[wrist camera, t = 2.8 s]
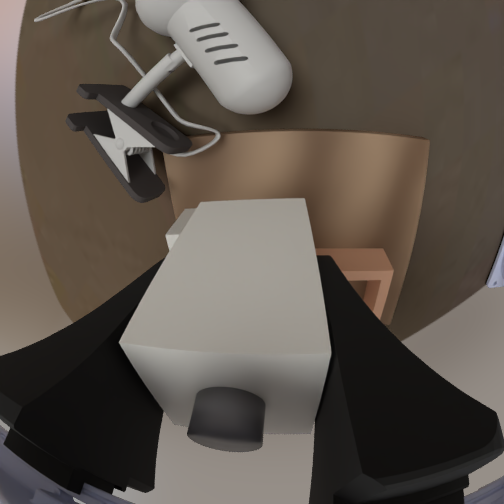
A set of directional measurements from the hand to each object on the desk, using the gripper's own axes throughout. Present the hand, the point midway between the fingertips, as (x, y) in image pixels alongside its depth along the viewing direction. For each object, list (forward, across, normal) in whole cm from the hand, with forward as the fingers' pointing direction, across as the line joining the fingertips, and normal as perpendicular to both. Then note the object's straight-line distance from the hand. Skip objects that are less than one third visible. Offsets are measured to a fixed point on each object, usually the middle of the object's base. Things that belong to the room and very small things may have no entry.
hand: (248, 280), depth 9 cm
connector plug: (+3, 0, 0) cm, 3 cm away
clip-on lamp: (+10, +6, -11) cm, 16 cm away
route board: (+9, -2, +4) cm, 10 cm away
